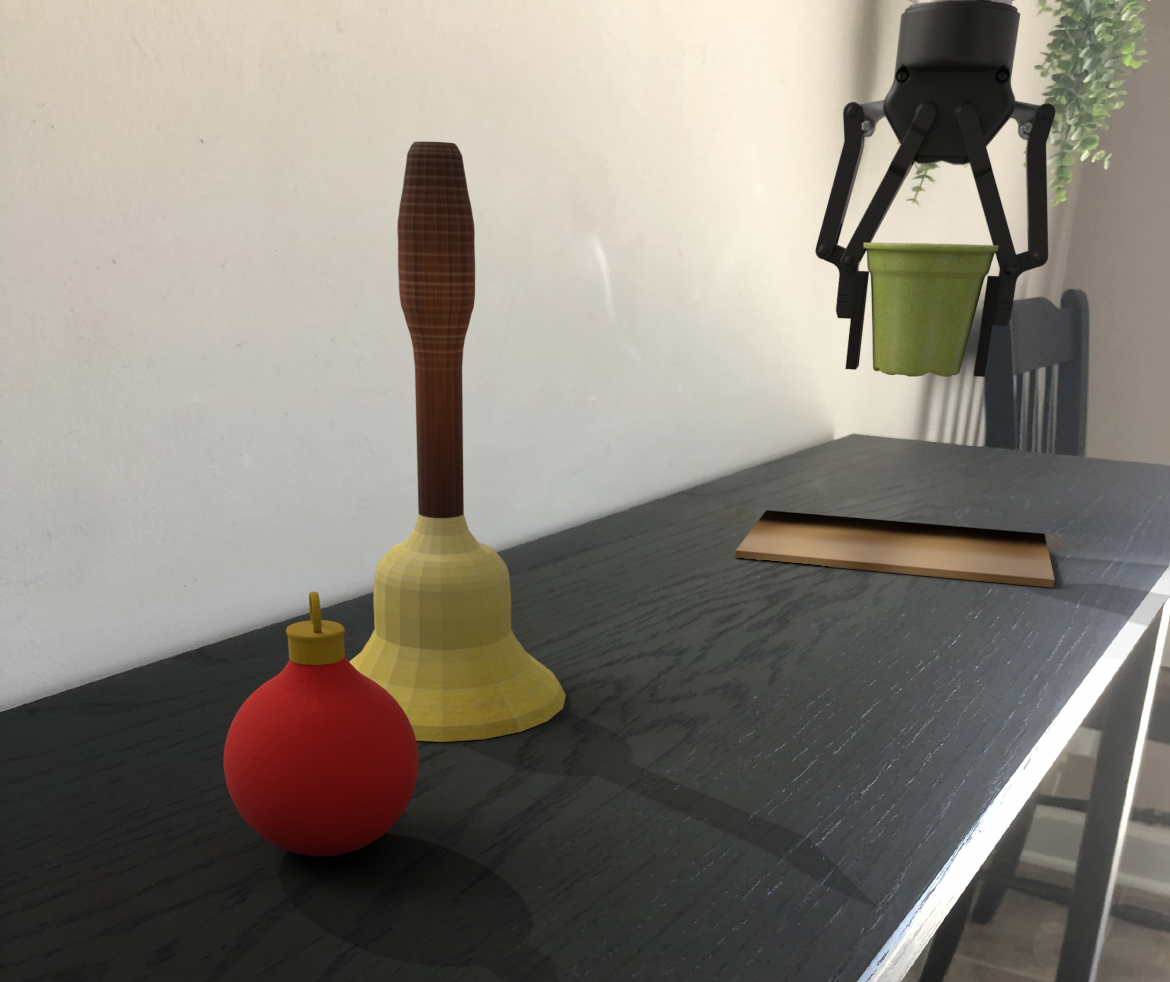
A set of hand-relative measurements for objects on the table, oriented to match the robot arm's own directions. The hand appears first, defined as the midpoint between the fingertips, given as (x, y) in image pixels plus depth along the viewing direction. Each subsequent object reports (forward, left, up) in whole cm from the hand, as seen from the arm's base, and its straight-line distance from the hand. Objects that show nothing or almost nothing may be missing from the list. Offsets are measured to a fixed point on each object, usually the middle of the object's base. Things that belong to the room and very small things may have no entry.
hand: (914, 370), depth 91 cm
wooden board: (0, -1, -13) cm, 13 cm away
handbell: (+20, +42, -13) cm, 48 cm away
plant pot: (0, 0, 0) cm, 0 cm away
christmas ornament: (+18, +59, -13) cm, 63 cm away
